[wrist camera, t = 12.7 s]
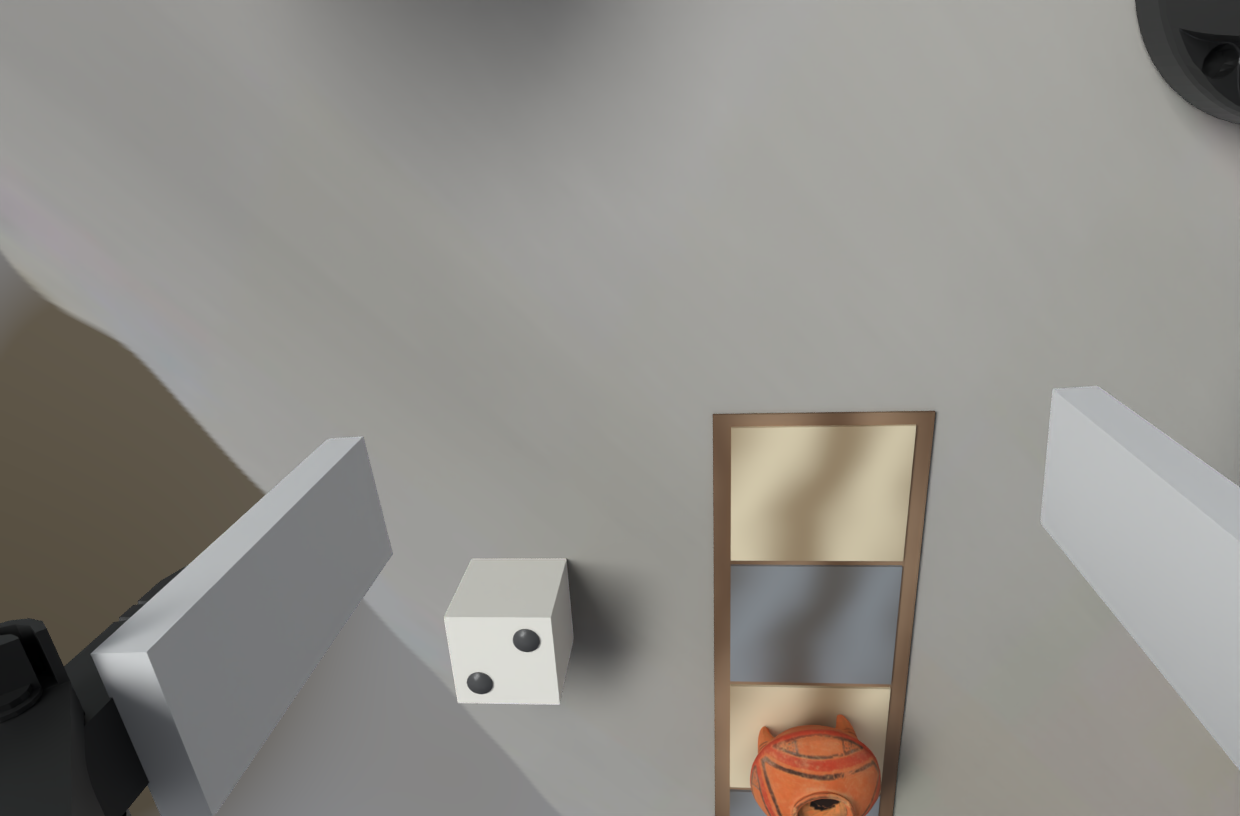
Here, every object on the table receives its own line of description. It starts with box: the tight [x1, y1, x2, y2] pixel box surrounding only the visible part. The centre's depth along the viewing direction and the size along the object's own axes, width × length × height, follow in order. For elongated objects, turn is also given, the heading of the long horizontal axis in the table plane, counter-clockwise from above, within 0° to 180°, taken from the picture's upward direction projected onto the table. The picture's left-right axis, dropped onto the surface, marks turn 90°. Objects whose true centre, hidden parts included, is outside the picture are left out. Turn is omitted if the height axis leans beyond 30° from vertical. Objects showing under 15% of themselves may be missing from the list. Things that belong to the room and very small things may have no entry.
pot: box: [750, 715, 881, 816], centre depth 48 cm, size 8×8×7 cm
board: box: [713, 411, 935, 816], centre depth 49 cm, size 12×37×1 cm, turn 3°
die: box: [444, 558, 574, 705], centre depth 47 cm, size 6×6×6 cm
